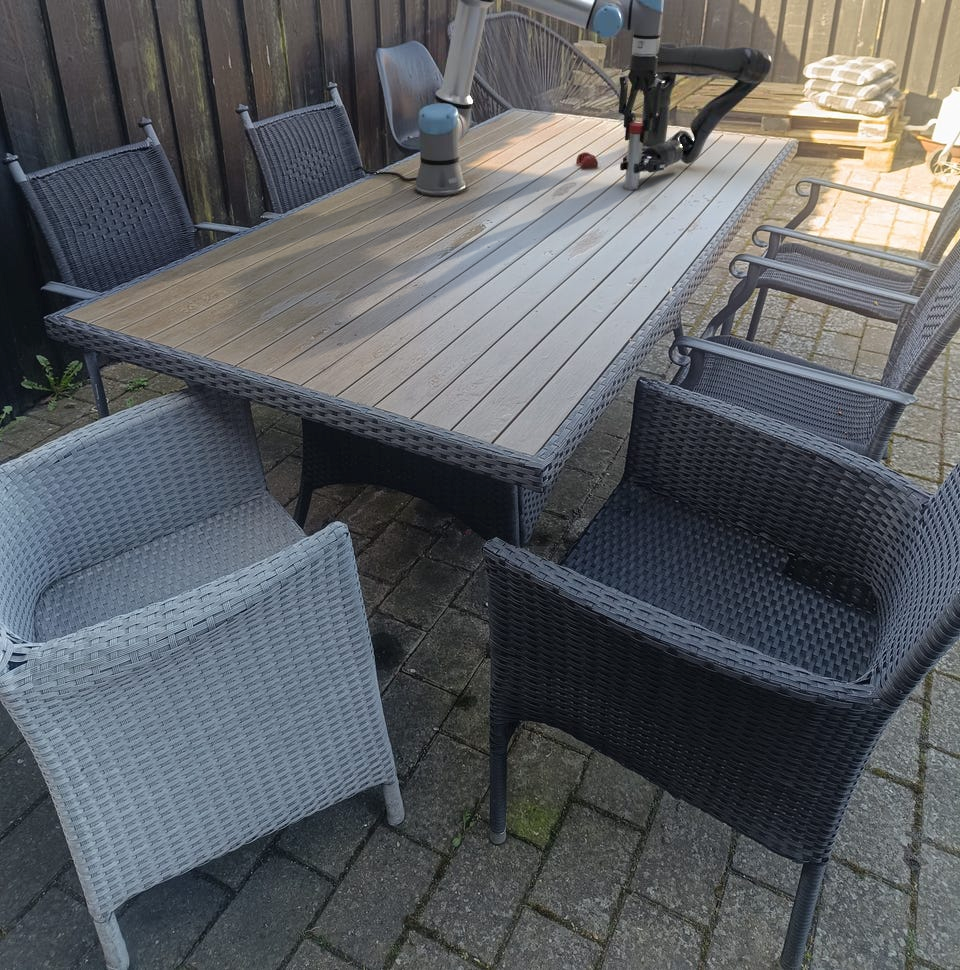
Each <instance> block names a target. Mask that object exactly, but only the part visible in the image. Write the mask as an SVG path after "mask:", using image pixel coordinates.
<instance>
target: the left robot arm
mask: <svg viewBox="0 0 960 970" xmlns="http://www.w3.org/2000/svg"><path fill="white" fill-rule="evenodd" d="M506 1H507V2H510V3H512V4H515V5H518V6H521V7H523V8H526V9H529V10H532V11H534V12H538V13H540V14H543V15H546V16H549V17H552V18H555V19H557V20H560V21H563V22H565V23H567V24H571V25H574V26H576V27H579V28H582V29H585V30H588V31H590V32H592V33H595V34H596V35H597V36H599V38H603V39H611V38H613V37H615V36H616V35H618V34H619V33H620V31H633V34H632V45H631V46H632V47H631V53H632V55H631V56H630V66H629V73H628V75H623V76H622V75H621V76H620V77H619V84H620V85H619V86H620V89H619V99H618V100H619V101H618V113H619V114H621V115H623V128H625V133H624V141H626V142H628V141H629V133H630V132H629V126H630V123H633V119H634V117H633V116H630V115H631V114H632V113H633V110H634V109H633V108H634V105H635V102H636V99H637V96H638V93H639V91H642V94H643V102H644V101H645V111H646V118H645V119H643V129H642V138H641V143H645V142H647V138H648V131H650V130H651V127H652V119H653V118H656V117H658V116H659V113H660V105H661V97H662V89H663V87H664V84H665V81H664V80H660V79H658V78H657V74H656V69H657V61H658V56H657V55H656V54H657V53H658V52H659V43H661V42H660V41H661V31H662V25H663V24H662V23H663V16H664V3H665V0H506ZM493 4H495V0H457V7H456V11H455V17H454V22H453V27H452V32H451V38H450V43H449V48H448V53H447V58H446V64H445V70H444V75H443V79H442V84H441V85H442V86H441V87H440V88H439V89H438V90H436V92H435V95H434V101H433V103H432V104H429V105H425V106H423V107H422V108H421V109H420V110H419V112H418V119H417V120H418V121H417V123H418V134H419V135H418V136H419V138H418V139H419V157H420V158H419V159H420V161H419V162H420V164H419V168H418V172H417V176H416V177H406V176H404V175H403V174H401V173H399V172H395V171H372V170H368V169H366V168H365V167H364V166H362V165H357V166H356V168H355V169H354V170H355V171H359V170H361V171H362V172H364V173H365V174H368V175H373V176H395V177H399V178H400V179H401V180H402V181H406V182H415V185H414V186H415V192H417V193H418V194H420V195H424V196H430V197H450V196H455V195H459V194H461V193H463V192H464V191H466V181H465V179H464V176H463V172H462V169H461V165H460V144H459V143H460V141H461V140H462V139H464V137H465V136H466V135H467V134H468V132H469V131H470V128H471V125H472V110H473V103H474V100H473V99H472V96H471V89H472V86H473V80H474V75H475V70H476V67H477V61H478V56H479V51H480V47H481V41H482V37H483V31H484V27H485V22H486V18H487V13H488V9H489V7H491V6H492V5H493ZM654 82H655V87H656V89H655V95H654V103H653V106H652V95H651V93H652V87H651V86H652V85H653V84H654ZM629 83H630V85H631V87H630V90H629ZM628 90H629V96H628ZM377 172H379V173H377ZM374 173H376V174H374Z"/></svg>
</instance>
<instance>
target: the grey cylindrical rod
mask: <svg viewBox="0 0 960 970" xmlns="http://www.w3.org/2000/svg"><path fill="white" fill-rule="evenodd" d="M641 138H642V133H641V134H634V133H629V140H628V144H627V154H626V155H627V164H626V170H625V175H624V185H623V187H624V189H625V190H628V191H635V190H638V189H639V183H640V174H641V172H639V173H637V174H636V173H634V167H635V166H636V165H638V164H641V156H642V153H643V149H642V147H643V143H641Z"/></svg>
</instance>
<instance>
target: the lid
mask: <svg viewBox="0 0 960 970" xmlns="http://www.w3.org/2000/svg"><path fill="white" fill-rule="evenodd" d="M642 129H643V123H641V122H635V123H630V126H629V132H630V133H634V134H641V133H642Z"/></svg>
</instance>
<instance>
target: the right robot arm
mask: <svg viewBox="0 0 960 970" xmlns="http://www.w3.org/2000/svg"><path fill="white" fill-rule="evenodd" d="M656 55H657V56H658V61H657V69H656V75H657V78H658V79H660V80H664V81H665V84H664V87H663V89H662V97H661V105H660V113H659V116H658V117H656V118H653V119H652V127H651V130H650V131H648V138H647V142H645V143H643V147H642V156H641V164H638V165H636V166H635V167H634V173H636V174H637V173H639V172H640V173H641V172H643V173H646V172H647V173H655V172H661V171H664V170H665V169H666V168H668V167H669V166H671V165H674V164H677V163H678V162H679V161H681V162H682V163H683V164H686V165H689V164H693V163H694V162H696V161H697V160H698V159H699V157H700V155H701V153H702V151H703V149H704V146H705V144H706V142H707V140H708V138H709V137H710V135H711V134H712V133H713V131H715V129H716V128H717V127H718V125H719V124H720V123H721V121H722V120H723V119H724V118H725V117H726V116H727V115H728V114H729V113H730V112H731V111H732V110H733V109H734V108H735V107H736V106H737V105H739V104H740V102H742V101H743V100H744V99H745V98H746V97H747V96H749V94H750V93H751V92H753V91H754V90H755V89H756V88H758V87H759V85H761V83H762V82H764V80H765V79H766V78H767V77H768V75H769V74H770V71H771V70H772V69H771V68H772V58H771V56H770V55H769V53H767V52H765V51H763V50H760V49H757V48H754V47H750V46H739V47H738V46H737V47H731V48H730V47H727V48H721V47H718V46H713V45H701V44H696V45H695V44H694V45H685V46H677V45H676V44H675V43H674V42H668V41H667V42H659V52H658V53H657V54H656ZM677 75H678V76H682V77H690V78H695V79H710V78H712V77H715V76H721V77H726V78H728V79H732V80H735V81H736V82H735V83H734V84H733V85H732V86H730V87H729V88H728V89H726V90H725V91H723V92H721V93H720V94H719V95H717V96H716V97H714V98H713V99H712V100H710V101H708V102H707V103H706V104H704V106H703V107H702V108H701V109H700V110H699V112H698V113H697V115H696V116H695V117H694V118H693V120H692V121H691V122H690V125H689V128H690V131H691V133H692V135H693V136H692V135H691V134H690V133H689V132H688V131H686V130H679V131H677V133H675V134H674V135H673V136H672V137H671V138H670V140H667V134H668V128H669V127H668V125H669V119H670V110H671V109H670V108H671V101H672V93H673V90H674V87H675V85H676V79H677ZM651 87H652V93H651V95H652V106H653V103H654V95H655V89H656V87H655V82H654V84H653V85H652V86H651ZM631 113H632V114H631V115H630V116H633V123H636V121H637V116H636V114H635V113H634V112H631ZM645 118H646V111H645V101H644V100H643V103H642V112H641V122H640V123H643V119H645ZM626 164H627V154H626V155H625V156H623V158H622V162H620V164H619V169H620V171H626Z"/></svg>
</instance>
